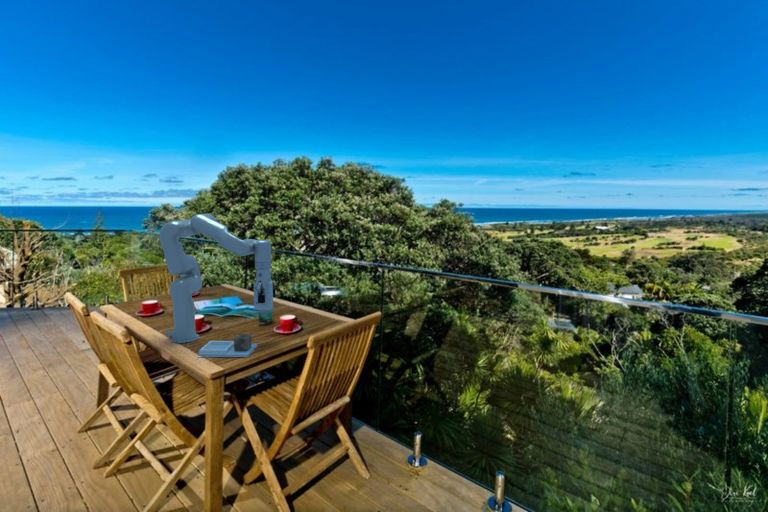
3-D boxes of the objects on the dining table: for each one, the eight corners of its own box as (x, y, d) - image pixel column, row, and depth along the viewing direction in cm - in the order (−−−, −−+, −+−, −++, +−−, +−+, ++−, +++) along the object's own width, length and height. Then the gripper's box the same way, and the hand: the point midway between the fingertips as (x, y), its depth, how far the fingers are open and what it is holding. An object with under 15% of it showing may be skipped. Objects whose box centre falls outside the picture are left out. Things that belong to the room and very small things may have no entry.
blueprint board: (198, 357, 173) (198, 350, 172) (211, 346, 187) (211, 340, 186) (247, 357, 173) (247, 351, 173) (257, 346, 187) (257, 340, 187)
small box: (273, 306, 194) (273, 281, 193) (270, 309, 188) (270, 283, 186) (256, 306, 193) (256, 281, 192) (253, 309, 187) (253, 283, 185)
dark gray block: (234, 351, 177) (233, 338, 176) (238, 346, 183) (238, 334, 182) (247, 351, 177) (246, 338, 176) (251, 346, 183) (251, 334, 182)
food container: (267, 327, 217) (267, 309, 216) (257, 326, 218) (257, 308, 217) (278, 320, 229) (277, 304, 228) (268, 319, 230) (268, 303, 229)
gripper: (265, 268, 179) (266, 305, 182) (275, 262, 197) (275, 297, 199) (249, 268, 179) (250, 305, 182) (260, 262, 196) (261, 296, 199)
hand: (263, 300), depth 190 cm, fingers closed on small box, 6 cm apart
